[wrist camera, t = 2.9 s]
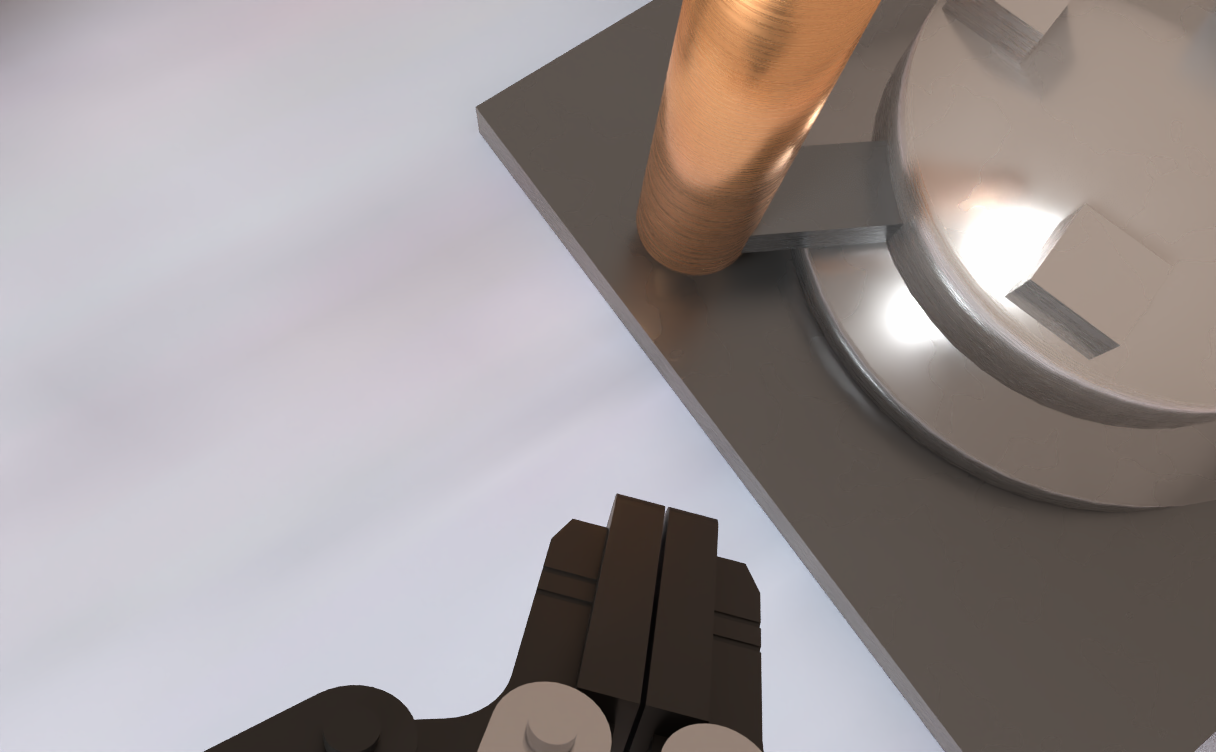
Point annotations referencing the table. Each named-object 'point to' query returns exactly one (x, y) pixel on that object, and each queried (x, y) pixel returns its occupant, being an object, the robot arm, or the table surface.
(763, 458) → the base plate
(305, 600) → the table surface
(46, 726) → the table surface
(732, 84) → the grey disc with handle
